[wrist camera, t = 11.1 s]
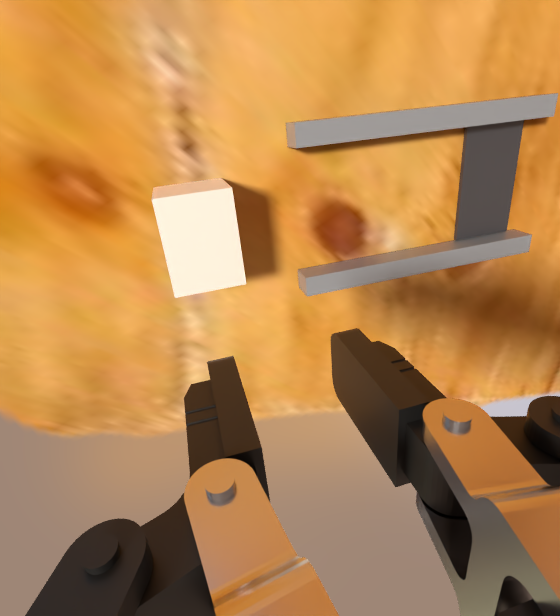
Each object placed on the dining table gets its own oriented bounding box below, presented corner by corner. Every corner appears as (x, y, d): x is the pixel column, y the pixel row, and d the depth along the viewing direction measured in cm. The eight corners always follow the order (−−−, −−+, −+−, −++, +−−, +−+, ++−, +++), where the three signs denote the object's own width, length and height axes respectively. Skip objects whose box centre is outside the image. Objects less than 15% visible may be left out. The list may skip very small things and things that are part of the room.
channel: (535, 95, 31) (558, 93, 29) (510, 245, 36) (528, 251, 34) (285, 123, 27) (294, 122, 25) (299, 287, 32) (307, 296, 30)
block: (220, 177, 27) (232, 187, 23) (233, 260, 30) (246, 284, 25) (153, 186, 26) (151, 199, 22) (173, 271, 29) (175, 297, 24)
